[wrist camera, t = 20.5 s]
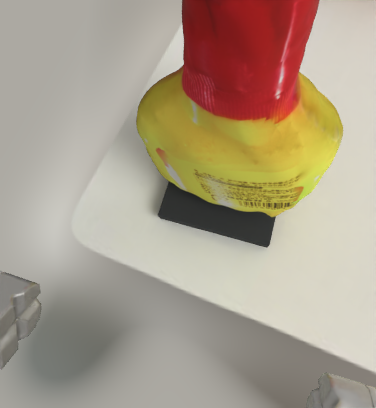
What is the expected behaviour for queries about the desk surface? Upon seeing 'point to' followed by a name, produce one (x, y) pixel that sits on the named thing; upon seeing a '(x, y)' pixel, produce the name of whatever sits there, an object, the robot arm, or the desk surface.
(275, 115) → the bottle
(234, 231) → the mat
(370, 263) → the desk surface
